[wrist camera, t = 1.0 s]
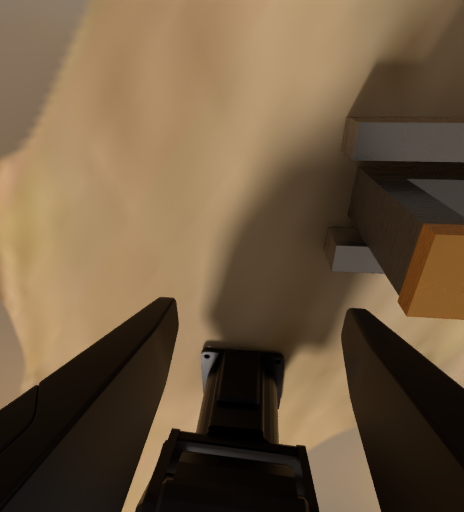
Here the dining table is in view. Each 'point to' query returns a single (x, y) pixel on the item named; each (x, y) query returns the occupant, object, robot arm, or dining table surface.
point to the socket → (389, 149)
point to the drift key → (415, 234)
